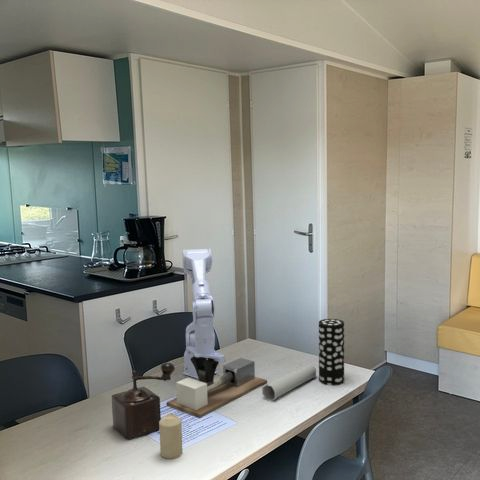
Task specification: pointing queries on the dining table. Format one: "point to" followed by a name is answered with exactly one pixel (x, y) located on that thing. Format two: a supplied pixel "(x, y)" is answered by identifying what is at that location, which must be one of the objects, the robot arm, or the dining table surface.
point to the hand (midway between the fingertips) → (205, 380)
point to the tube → (288, 382)
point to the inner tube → (215, 379)
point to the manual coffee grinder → (138, 407)
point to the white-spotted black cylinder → (331, 351)
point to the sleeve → (240, 371)
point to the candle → (170, 436)
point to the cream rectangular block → (192, 393)
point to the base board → (219, 397)
